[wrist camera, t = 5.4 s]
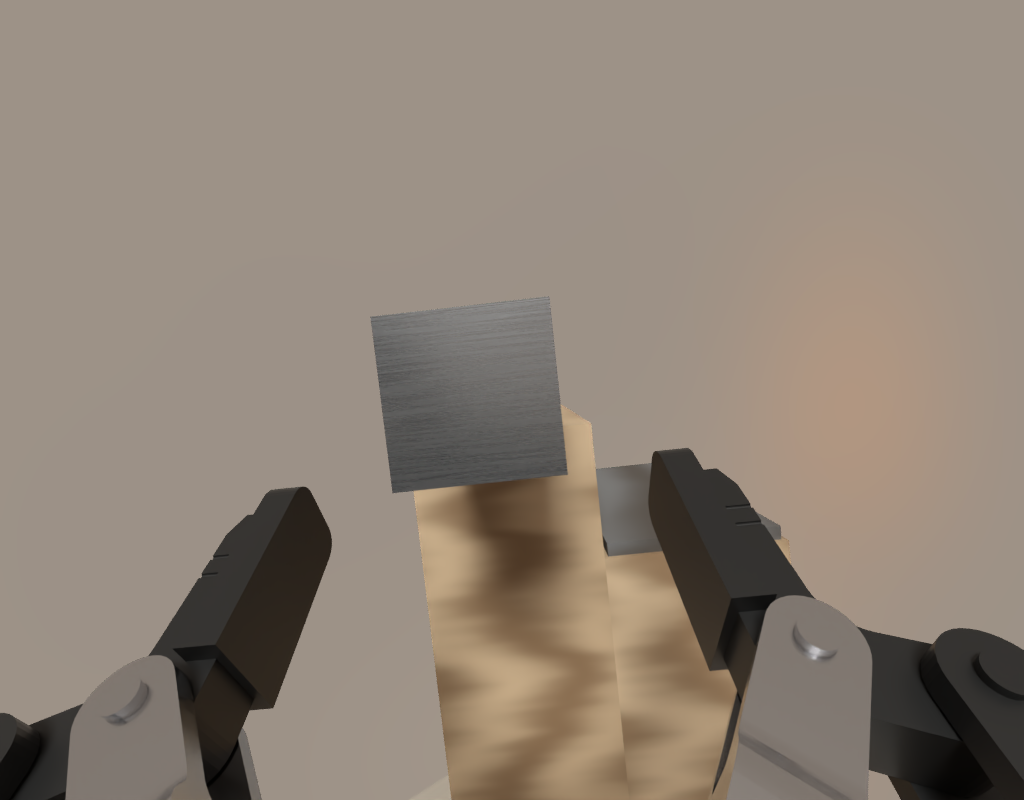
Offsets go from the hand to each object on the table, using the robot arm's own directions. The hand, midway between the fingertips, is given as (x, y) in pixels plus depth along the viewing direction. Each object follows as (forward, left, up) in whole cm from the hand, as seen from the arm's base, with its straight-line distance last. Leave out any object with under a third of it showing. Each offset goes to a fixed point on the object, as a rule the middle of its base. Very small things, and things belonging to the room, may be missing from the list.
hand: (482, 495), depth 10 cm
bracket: (+4, +16, -32) cm, 36 cm away
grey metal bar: (0, +12, 0) cm, 12 cm away
